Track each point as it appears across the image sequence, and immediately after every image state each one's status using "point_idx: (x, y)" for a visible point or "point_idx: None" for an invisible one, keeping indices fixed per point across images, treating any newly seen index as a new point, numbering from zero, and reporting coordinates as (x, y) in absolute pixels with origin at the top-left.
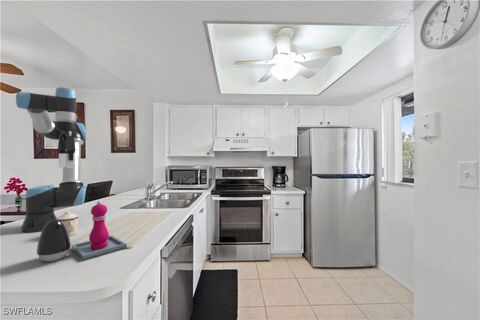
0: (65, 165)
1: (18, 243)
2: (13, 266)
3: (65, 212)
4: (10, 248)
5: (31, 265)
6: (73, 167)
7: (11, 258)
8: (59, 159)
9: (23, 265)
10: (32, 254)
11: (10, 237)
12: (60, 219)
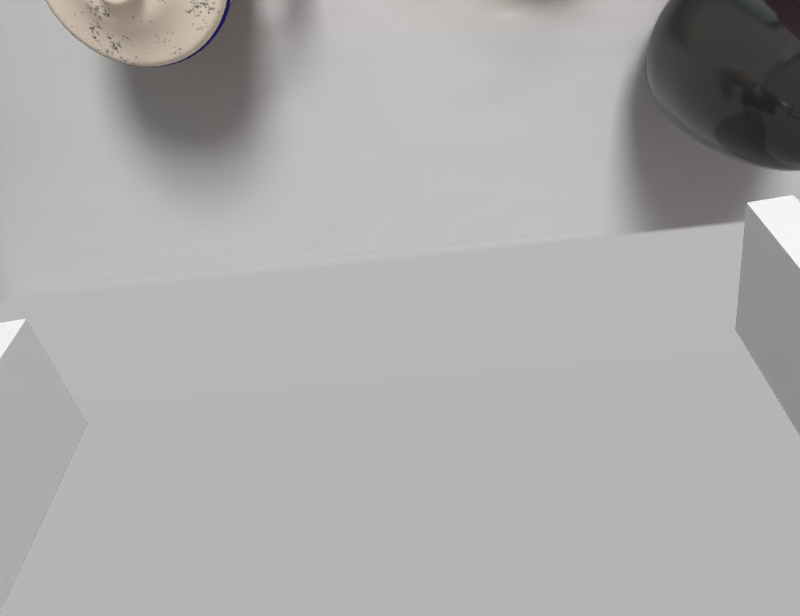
0: (12, 353)
1: (236, 219)
2: (658, 202)
3: (127, 2)
4: (320, 244)
5: None
6: (797, 215)
7: (517, 222)
8: (13, 576)
9: (685, 165)
10: (529, 139)
11: (61, 269)
12: (213, 33)
